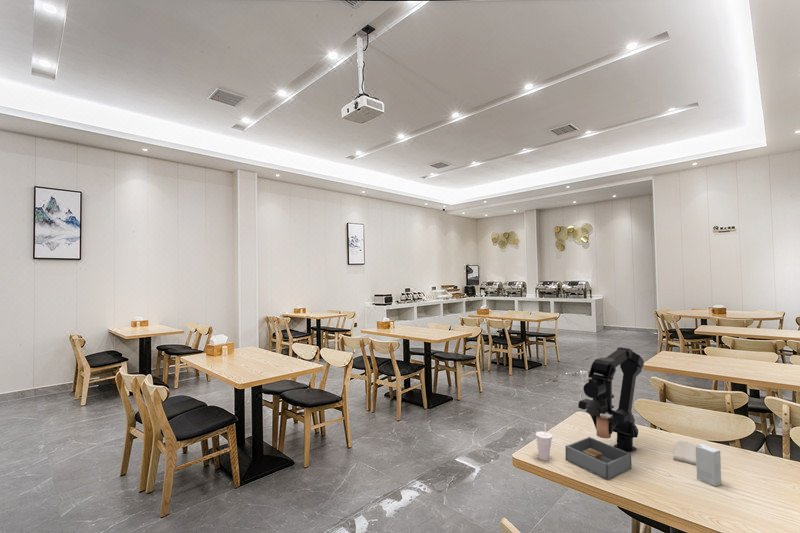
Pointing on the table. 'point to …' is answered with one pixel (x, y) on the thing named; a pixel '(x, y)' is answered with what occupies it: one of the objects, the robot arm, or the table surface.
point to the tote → (607, 468)
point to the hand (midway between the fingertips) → (603, 431)
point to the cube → (593, 453)
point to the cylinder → (602, 427)
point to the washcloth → (685, 452)
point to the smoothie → (543, 444)
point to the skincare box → (708, 464)
